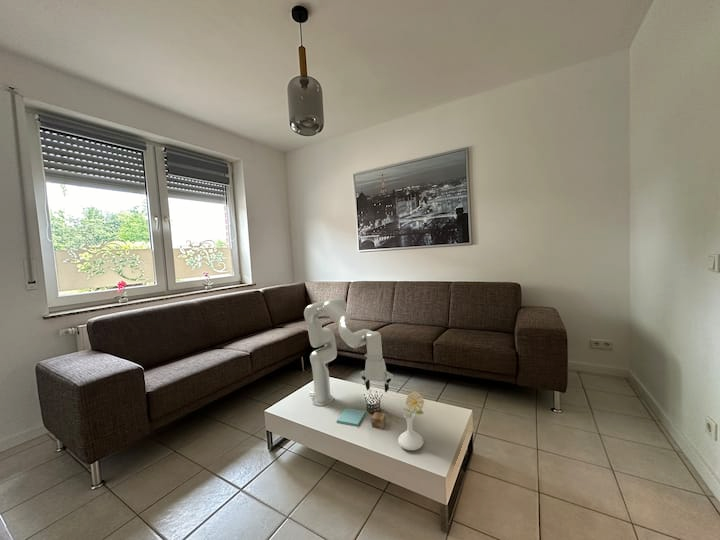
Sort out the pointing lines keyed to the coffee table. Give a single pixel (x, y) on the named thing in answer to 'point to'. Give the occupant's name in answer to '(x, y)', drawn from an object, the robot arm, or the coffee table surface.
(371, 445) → the coffee table surface
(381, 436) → the coffee table surface
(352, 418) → the teal board
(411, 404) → the flower in vase
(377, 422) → the walnut block
